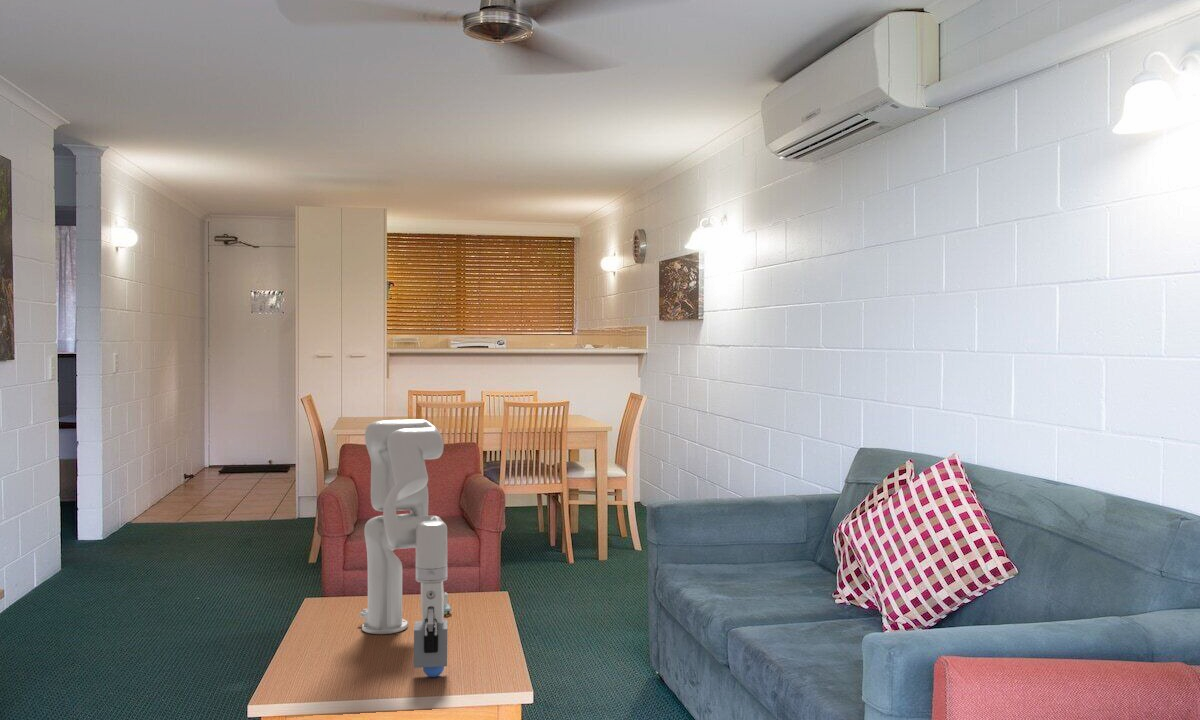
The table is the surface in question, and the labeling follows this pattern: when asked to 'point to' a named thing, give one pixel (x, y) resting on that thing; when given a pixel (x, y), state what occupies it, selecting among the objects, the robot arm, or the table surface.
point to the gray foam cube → (430, 658)
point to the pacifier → (446, 605)
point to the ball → (433, 671)
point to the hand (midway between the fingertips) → (431, 646)
